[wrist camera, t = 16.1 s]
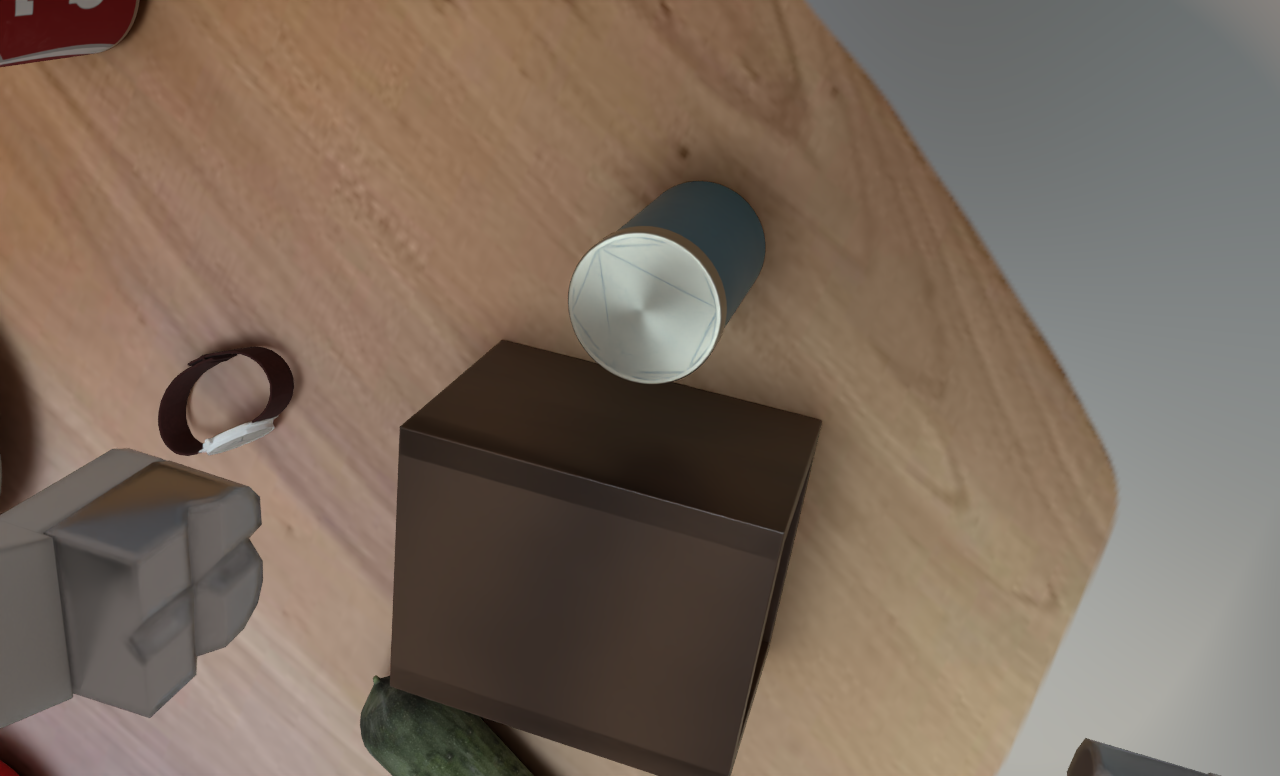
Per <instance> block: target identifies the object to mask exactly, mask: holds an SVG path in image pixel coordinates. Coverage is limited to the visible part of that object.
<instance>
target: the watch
mask: <svg viewBox="0 0 1280 776" xmlns="http://www.w3.org/2000/svg"><path fill="white" fill-rule="evenodd" d="M237 354H242V355H245V356H248V357H250V358H251V359H253V360H254V361H256V362H257V363H258V364H259V365H260V366H261V367H262V368H263V370H264V372H265V373H266V375H267V377H268V380H269V383H270V397H269V401H268V404H267V406H266V408H265V410H264V411H263V412H262V413H261V414H260V416H258V417H257V418H256V419H254V420H253V421H251V422H248V423H244V424H242V425H239V426H237V427H235V428H232V429H230V430H227V431H225V432H223V433H220V434H218V435H216V436H214V437H213V438H208V439H206V440H205V443H204V444H203V443H201V442H199V441H198V440H197V439H195V438H194V437H193V435H192V434H191V432H190V429H189V427H188V425H187V420H186V404H187V399H188V396H189V393H190V390H191V389H192V387H193V385H194V383H195V382H196V381H197V380H198V378H199V377H200V376H201V375H202V374H203V373H205V372H206V371H207V370H208V369H210V368H212V367H214V366H215V365H217V364H219V363H220V362H223V361H227V360H229V359H231V358H232V357H234V356H237ZM188 365H189V366H191V367H190V368H188V369H186V370H185V371H183V372H182V373H180V374H179V375H178V376H177V377H176V378H175V379H174V380H173V381H172V382H171V384H170V385H169V386H168V388H167V389H166V391H165V393H164V395H163V398H162V400H161V403H160V408H159V414H158V426H159V431H160V435H161V438H162V440H163V441H164V443H165V445H166V446H167V447H168V448H169V449H170V450H171V451H173V452H174V453H176V454H179V455H185V456H190V455H195V454H198V453H202V452H207V454H208V455H213V454H218V453H222V452H225V451H228V450H231V449H234V448H237V447H239V446H242V445H244V444H247V443H249V442H252V441H254V440H256V439H258V438H260V437H262V436H264V435H266V434H268V433H270V432H271V431H272V430H273V429H274V425H273V419H275V418H277V417H279V416H278V415H279V414H280V413H281V412H282V411H283V410H284V409H285V408H286V407H287V405H288V404H289V402H290V400H291V398H292V395H293V389H294V381H293V375H292V372H291V370H290V368H289V366H288V364H287V363H286V362H285V361H284V359H283V358H282V357H281V356H279V355H278V354H277V353H275V352H274V351H272V350H269V349H267V348H264V347H247V348H241V349H234V350H228V351H221V352H216V353H211V354H205V355H202V356H201V357H200V358H198V359H196V360H193V361H191V362H189V363H188Z"/></svg>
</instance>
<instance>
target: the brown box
mask: <svg viewBox="0 0 1280 776" xmlns="http://www.w3.org/2000/svg"><path fill="white" fill-rule="evenodd" d="M821 425H822V421H821V420H818V419H814V418H810V417H806V416H802V415H798V414H794V413H790V412H786V411H782V410H778V409H774V408H770V407H766V406H762V405H758V404H754V403H750V402H746V401H742V400H738V399H734V398H730V397H726V396H722V395H718V394H714V393H710V392H706V391H702V390H698V389H695V388H691V387H687V386H683V385H679V384H675V383H671V382H669V383H664V384H641V383H636V382H632V381H629V380H625V379H623V378H620V377H618V376H616V375H614V374H612V373H611V372H609V371H607V370H606V369H604V368H603V367H602V366H600V365H599V364H595V363H591V362H587V361H583V360H579V359H575V358H571V357H567V356H563V355H559V354H556V353H552V352H548V351H544V350H540V349H536V348H532V347H528V346H524V345H520V344H516V343H512V342H508V341H504V340H501V341H500V342H499V343H498V344H497V345H496V346H494V347H493V348H492V349H491V350H490V351H489V352H487V353H486V354H485V355H484V356H483V357H482V358H480V359H479V360H478V361H477V362H476V363H474V364H473V365H472V366H471V367H470V368H469V369H467V370H466V371H465V372H464V373H463V374H462V375H460V376H459V377H458V378H457V379H456V380H455V381H453V382H452V383H451V384H450V385H449V386H448V387H446V388H445V389H444V390H443V391H442V392H440V393H439V394H438V395H437V396H436V397H435V398H433V399H432V400H431V401H430V402H429V403H428V404H426V405H425V406H424V407H423V408H422V409H421V410H419V411H418V412H417V413H416V414H414V415H413V416H412V417H411V418H410V419H408V420H407V421H406V422H405V423H404V424H403V425H401V426H400V438H399V464H398V489H397V515H396V541H395V567H394V593H393V619H392V644H391V670H390V686H391V687H394V688H397V689H400V690H403V691H406V692H409V693H412V694H415V695H418V696H421V697H424V698H427V699H430V700H433V701H436V702H439V703H442V704H445V705H448V706H451V707H454V708H457V709H460V710H463V711H466V712H469V713H472V714H475V715H478V716H481V717H484V718H487V719H490V720H493V721H496V722H499V723H502V724H505V725H508V726H511V727H514V728H517V729H520V730H523V731H526V732H529V733H532V734H535V735H538V736H541V737H544V738H547V739H550V740H553V741H556V742H559V743H562V744H565V745H568V746H571V747H574V748H577V749H580V750H583V751H586V752H589V753H592V754H595V755H598V756H601V757H604V758H607V759H610V760H613V761H616V762H619V763H622V764H625V765H628V766H631V767H634V768H637V769H640V770H643V771H646V772H649V773H652V774H655V775H658V776H731V773H732V769H733V766H734V763H735V759H736V756H737V753H738V750H739V746H740V743H741V740H742V736H743V733H744V730H745V727H746V723H747V720H748V717H749V713H750V710H751V707H752V704H753V700H754V697H755V694H756V690H757V687H758V684H759V681H760V677H761V674H762V671H763V667H764V664H765V661H766V658H767V654H768V650H769V646H770V642H771V638H772V633H773V629H774V625H775V621H776V616H777V612H778V608H779V604H780V599H781V595H782V591H783V587H784V582H785V578H786V574H787V570H788V565H789V561H790V557H791V553H792V548H793V544H794V540H795V536H796V531H797V527H798V523H799V519H800V514H801V510H802V506H803V502H804V497H805V493H806V489H807V485H808V480H809V476H810V472H811V468H812V463H813V459H814V455H815V451H816V446H817V442H818V438H819V434H820V429H821Z"/></svg>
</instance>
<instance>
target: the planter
mask: <svg viewBox="0 0 1280 776" xmlns="http://www.w3.org/2000/svg"><path fill="white" fill-rule="evenodd" d="M1 483H2V466H1V456H0V494H1Z"/></svg>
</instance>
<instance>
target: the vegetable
mask: <svg viewBox="0 0 1280 776" xmlns="http://www.w3.org/2000/svg"><path fill="white" fill-rule="evenodd" d="M373 682H374V685H373V688H372V690H371V692H370V694H369V696H368V698H367V701H366V703H365V705H364V707H363V709H362V712H361V719H360V728H361V736H362V739H363V742H364V745H365V747H366V748H367V750H368V751H369V753H370V754H371V755H372V756H373V757H374V758H375V759H376V760H377V761H378V762H379V763H380V764H381V765H382V766H383V767H384V768H385V769H386V770H387V771H388V772H389V773H390V774H391V775H392V776H534V775H533V774H532V773H531V772H530V771H529V770H528V769H527V768H526V767H525V766H524V765H523V764H522V762H521V761H520V760H519V759H518V758H517V757H516V756H515V755H514V754H513V753H512V752H511V751H510V749H509V748H508V747H507V746H506V745H505V744H504V743H503V742H502V741H501V740H500V739H499V738H498V737H497V735H496V734H495V733H494V732H493V731H492V730H491V729H490V728H489V727H488V726H487V725H486V724H485V722H484V721H483V720H482V719H481V718H480V717H479V716H478V715H475V714H472V713H469V712H466V711H463V710H460V709H457V708H454V707H451V706H448V705H445V704H442V703H439V702H436V701H433V700H430V699H427V698H424V697H421V696H418V695H415V694H412V693H409V692H406V691H403V690H400V689H397V688H394V687H391V686H390V676H388V677H384V678H381V679H380V678H379V677H378V676H377V675H376V676H374V677H373Z"/></svg>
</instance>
